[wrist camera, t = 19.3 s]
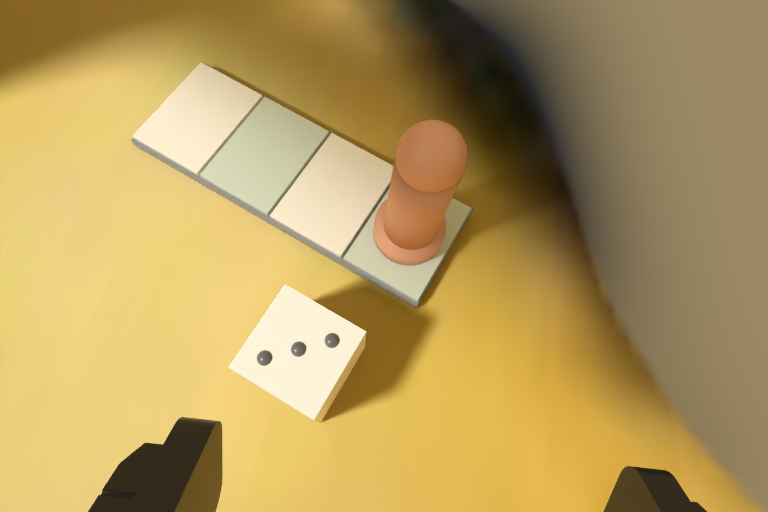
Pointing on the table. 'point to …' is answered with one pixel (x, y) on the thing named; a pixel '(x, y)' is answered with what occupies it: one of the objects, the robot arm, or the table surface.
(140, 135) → the track
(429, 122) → the pawn
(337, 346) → the die
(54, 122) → the table surface
